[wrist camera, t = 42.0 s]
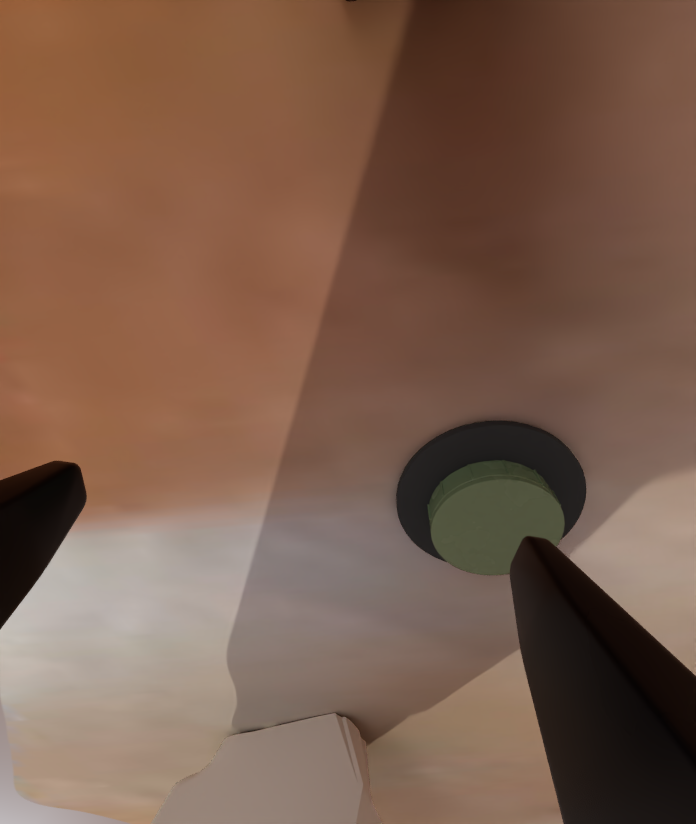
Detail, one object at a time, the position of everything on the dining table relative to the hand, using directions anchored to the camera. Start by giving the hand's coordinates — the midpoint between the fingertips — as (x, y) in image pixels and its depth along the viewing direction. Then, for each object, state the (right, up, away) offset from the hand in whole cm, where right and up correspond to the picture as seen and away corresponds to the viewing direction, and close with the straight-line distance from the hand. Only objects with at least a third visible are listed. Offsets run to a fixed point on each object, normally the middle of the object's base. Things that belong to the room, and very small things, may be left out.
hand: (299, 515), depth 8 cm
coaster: (+9, -3, +14) cm, 17 cm away
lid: (+9, -4, +13) cm, 16 cm away
